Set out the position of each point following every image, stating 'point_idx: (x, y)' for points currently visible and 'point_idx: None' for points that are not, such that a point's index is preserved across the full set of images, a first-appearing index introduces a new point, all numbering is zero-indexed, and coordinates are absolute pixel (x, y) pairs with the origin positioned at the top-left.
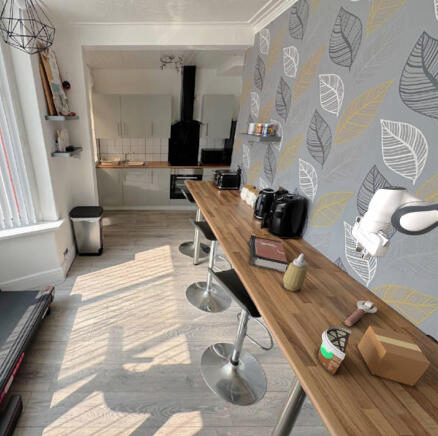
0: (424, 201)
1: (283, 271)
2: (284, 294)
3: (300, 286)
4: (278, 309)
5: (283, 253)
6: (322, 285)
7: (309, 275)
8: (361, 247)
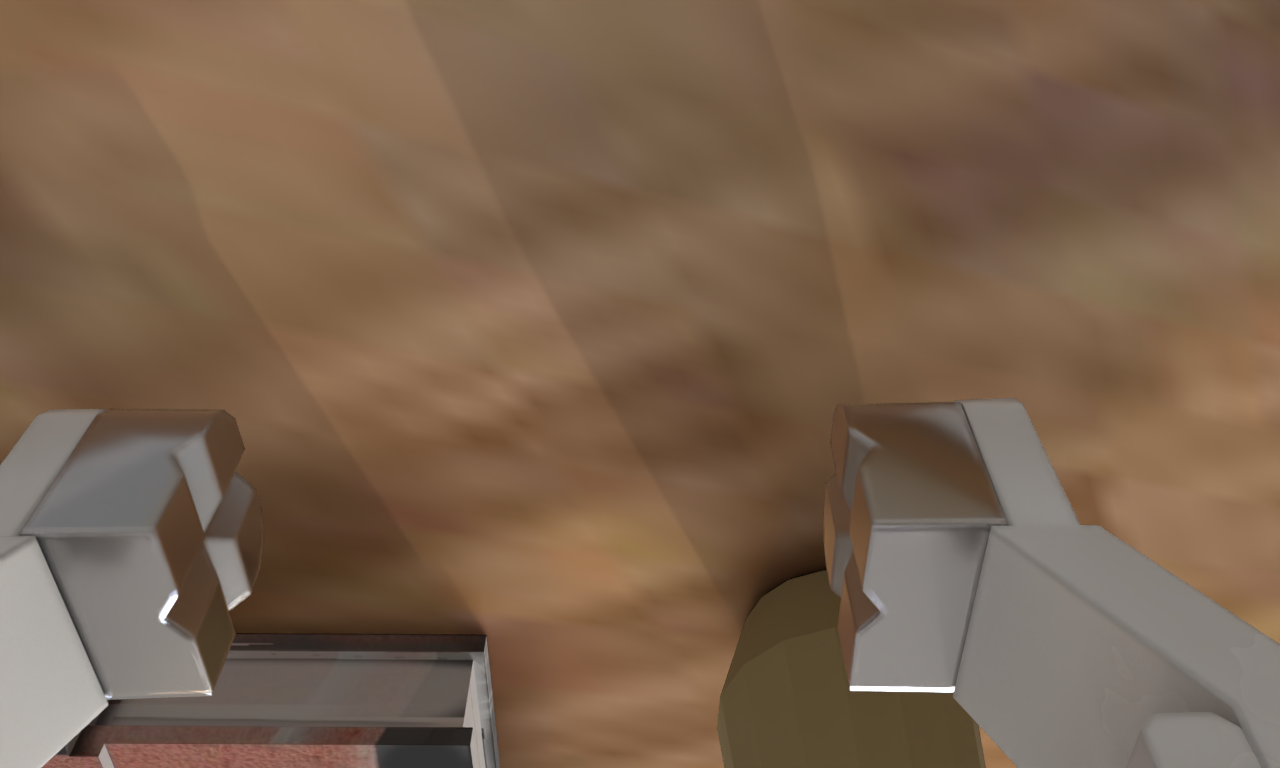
0: None
1: (488, 665)
2: None
3: None
4: None
5: (109, 756)
6: (596, 252)
7: (377, 372)
8: (13, 568)
